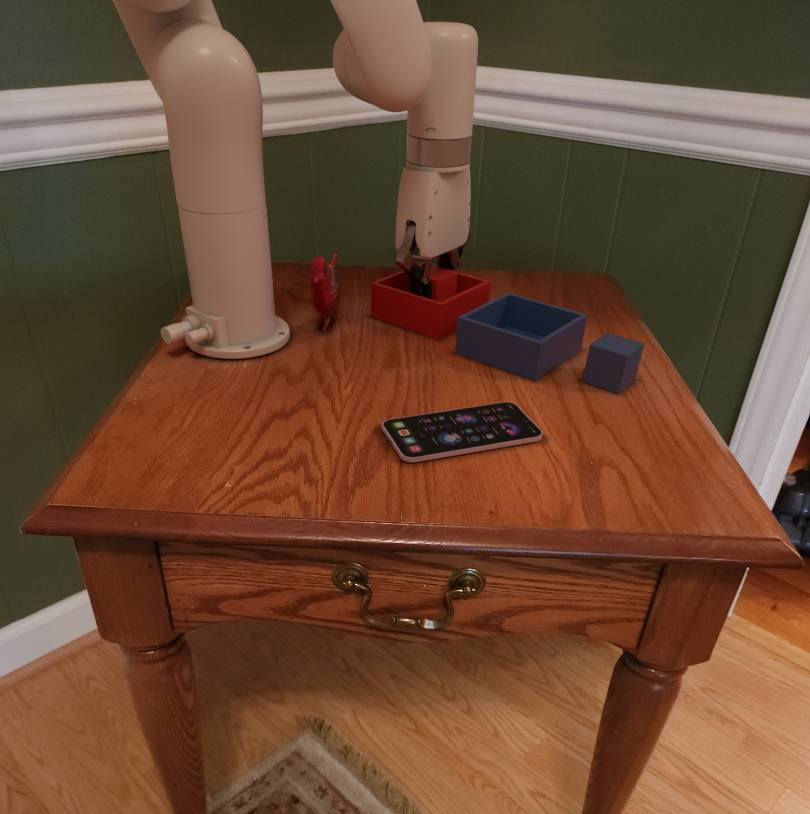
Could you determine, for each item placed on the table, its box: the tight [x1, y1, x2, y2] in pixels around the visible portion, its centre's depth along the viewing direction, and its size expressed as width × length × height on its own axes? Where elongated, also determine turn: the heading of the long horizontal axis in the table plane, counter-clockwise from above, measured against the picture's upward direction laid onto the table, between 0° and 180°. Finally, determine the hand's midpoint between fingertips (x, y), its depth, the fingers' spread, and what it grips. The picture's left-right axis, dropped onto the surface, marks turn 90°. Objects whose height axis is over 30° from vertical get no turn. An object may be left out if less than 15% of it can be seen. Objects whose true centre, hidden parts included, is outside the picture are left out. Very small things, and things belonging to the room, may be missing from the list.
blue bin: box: [454, 292, 589, 382], centre depth 87 cm, size 11×11×4 cm
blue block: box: [582, 332, 645, 394], centre depth 82 cm, size 4×4×4 cm
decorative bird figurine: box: [309, 250, 339, 332], centre depth 92 cm, size 3×18×10 cm, turn 177°
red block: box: [409, 264, 459, 302], centre depth 95 cm, size 4×4×4 cm
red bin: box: [370, 262, 492, 340], centre depth 96 cm, size 11×11×4 cm
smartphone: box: [381, 401, 544, 463], centre depth 72 cm, size 8×1×15 cm
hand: (431, 304), depth 96 cm, fingers closed on red block, 4 cm apart
